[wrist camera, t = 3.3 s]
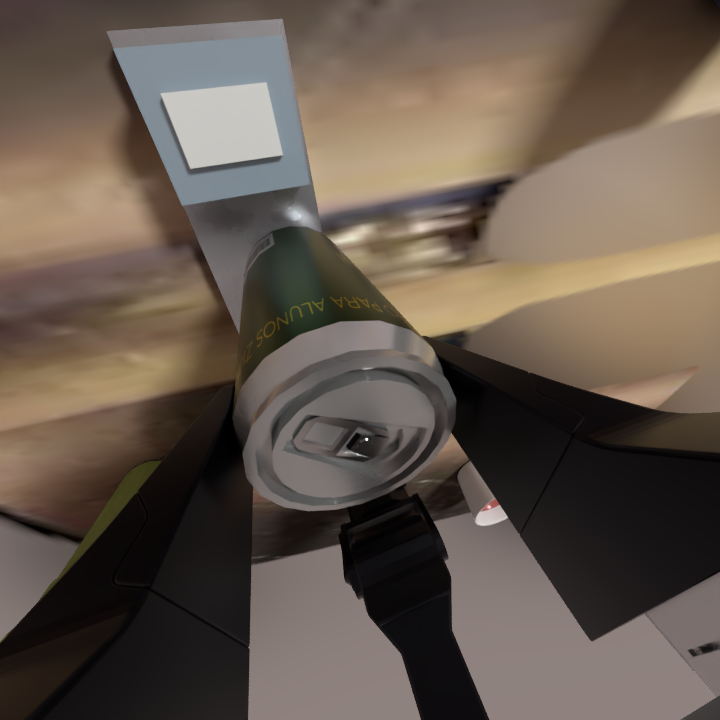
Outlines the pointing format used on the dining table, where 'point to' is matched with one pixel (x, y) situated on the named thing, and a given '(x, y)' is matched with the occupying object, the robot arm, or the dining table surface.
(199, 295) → the dining table surface
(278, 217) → the rail
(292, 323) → the beer can
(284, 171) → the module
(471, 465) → the white tapered cup
